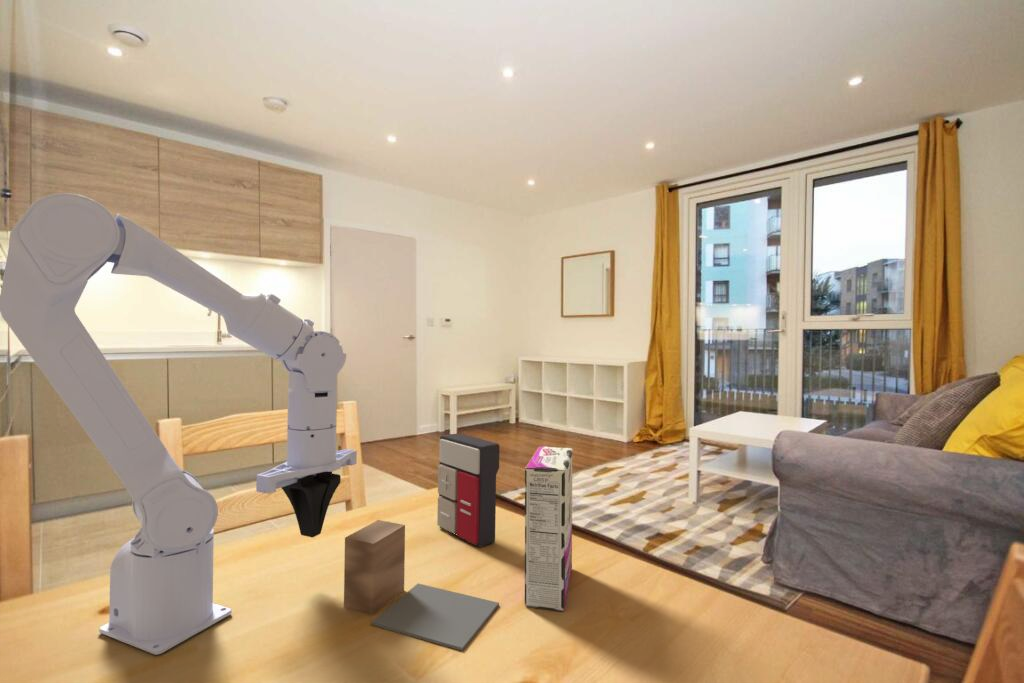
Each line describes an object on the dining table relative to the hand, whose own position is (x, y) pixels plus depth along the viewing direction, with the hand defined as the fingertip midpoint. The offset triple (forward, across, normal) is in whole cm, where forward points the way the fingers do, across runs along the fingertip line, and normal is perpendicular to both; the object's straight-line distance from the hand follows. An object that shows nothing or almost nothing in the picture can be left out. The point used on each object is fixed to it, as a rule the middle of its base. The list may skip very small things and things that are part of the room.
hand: (310, 534), depth 61 cm
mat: (+6, 0, -18) cm, 19 cm away
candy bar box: (+6, +11, -28) cm, 31 cm away
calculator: (+6, +21, -11) cm, 24 cm away
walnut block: (+6, 0, -10) cm, 12 cm away
